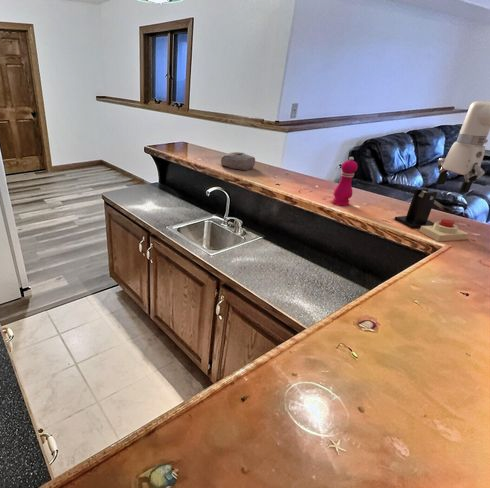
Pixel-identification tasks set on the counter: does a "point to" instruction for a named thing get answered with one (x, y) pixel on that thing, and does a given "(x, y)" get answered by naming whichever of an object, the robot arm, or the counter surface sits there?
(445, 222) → the button
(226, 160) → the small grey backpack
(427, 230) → the button block
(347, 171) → the pepper mill
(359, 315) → the counter surface
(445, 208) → the toaster lever
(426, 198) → the lever bracket
